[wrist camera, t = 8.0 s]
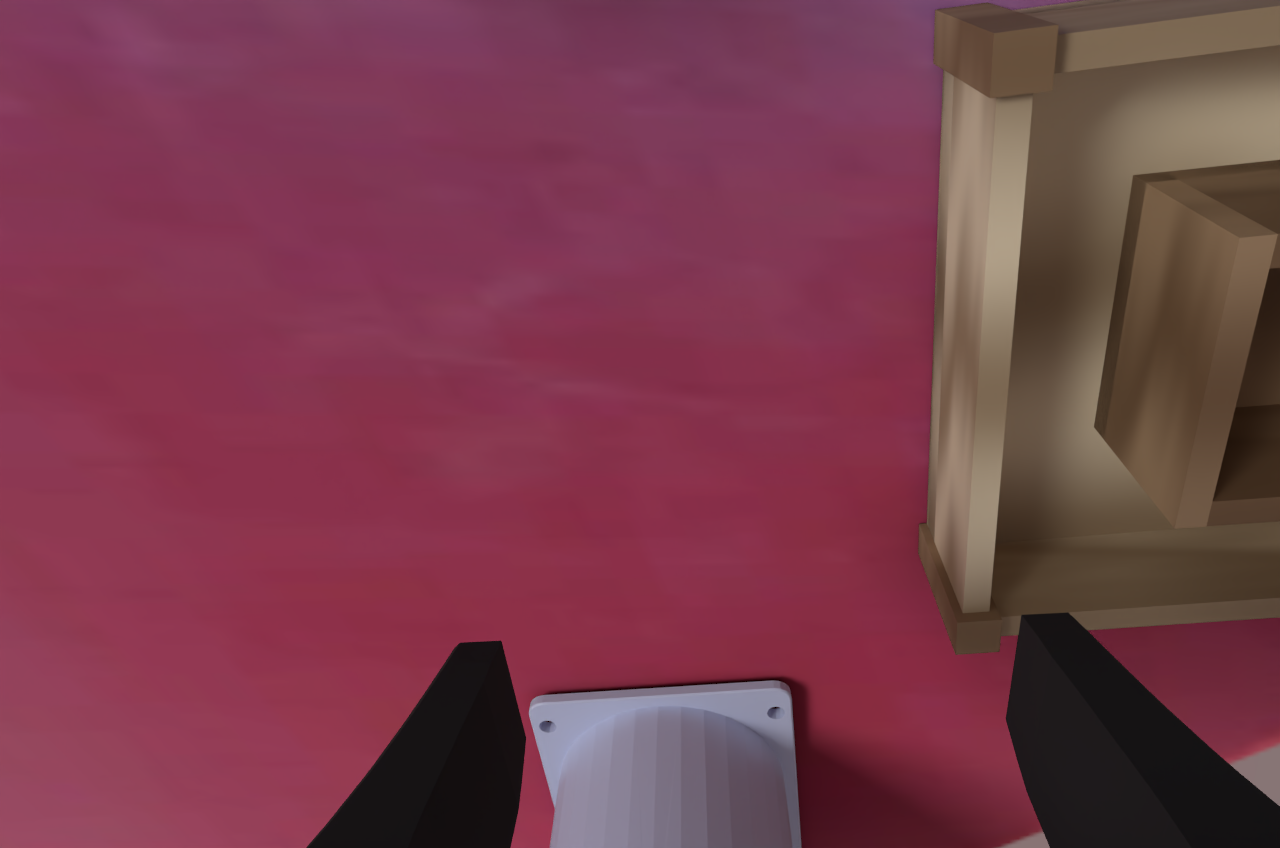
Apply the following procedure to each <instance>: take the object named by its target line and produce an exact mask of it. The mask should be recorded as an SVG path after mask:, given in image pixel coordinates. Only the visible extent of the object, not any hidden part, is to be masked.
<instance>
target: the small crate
mask: <svg viewBox="0 0 1280 848" xmlns="http://www.w3.org/2000/svg"><path fill="white" fill-rule="evenodd" d="M1094 428H1095V429H1096V430H1097V432H1098V433H1099V434H1100V435H1101V437H1102V438H1103V439H1104V441H1105V442H1106V443H1107V444H1108V446H1109V447H1110V448H1111V449H1112V451H1113V452H1114V453H1115V454H1116V456H1117V457H1118V458H1119V459H1120V461H1121V462H1122V463H1123V464H1124V466H1125V467H1126V468H1127V469H1128V471H1129V472H1130V473H1131V474H1132V476H1133V477H1134V478H1135V480H1136V481H1137V482H1138V483H1139V485H1140V486H1141V487H1142V488H1143V490H1144V491H1145V492H1146V493H1147V495H1148V496H1149V497H1150V498H1151V500H1152V501H1153V502H1154V503H1155V505H1156V506H1157V507H1158V508H1159V510H1160V511H1161V512H1162V513H1163V515H1164V516H1165V517H1166V519H1167V520H1168V521H1169V522H1170V524H1171V525H1172V526H1173V527H1174V529H1177V528H1192V527H1206V526H1221V525H1235V524H1250V523H1264V522H1279V521H1280V160H1272V161H1263V162H1253V163H1244V164H1234V165H1225V166H1215V167H1206V168H1196V169H1187V170H1177V171H1168V172H1158V173H1149V174H1139V175H1133V179H1132V186H1131V192H1130V198H1129V205H1128V211H1127V218H1126V224H1125V230H1124V237H1123V243H1122V250H1121V256H1120V262H1119V269H1118V275H1117V282H1116V288H1115V294H1114V301H1113V307H1112V314H1111V320H1110V327H1109V333H1108V339H1107V346H1106V352H1105V359H1104V365H1103V371H1102V378H1101V384H1100V391H1099V397H1098V403H1097V410H1096V416H1095V423H1094Z"/></svg>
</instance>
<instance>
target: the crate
mask: <svg viewBox="0 0 1280 848" xmlns="http://www.w3.org/2000/svg"><path fill="white" fill-rule="evenodd" d="M933 64H935V65H937V66H938V67H940V68H941V69H943V92H942V120H941V148H940V175H939V203H938V231H937V258H936V286H935V314H934V341H933V369H932V396H931V424H930V452H929V479H928V507H927V523H924V524H919V548H918V554H919V556H920V559H921V562H922V565H923V567H924V570H925V573H926V575H927V578H928V581H929V584H930V586H931V589H932V592H933V595H934V597H935V600H936V603H937V605H938V608H939V611H940V614H941V616H942V619H943V622H944V624H945V627H946V630H947V633H948V635H949V638H950V641H951V643H952V646H953V649H954V652H955V654H956V655H957V654H972V653H988V652H999V650H1000V639H1001V636H1009V635H1018V634H1019V628H1020V621H1021V615H1027V614H1047V613H1067V612H1068V613H1069V614H1070V615H1072V616H1073V617H1074V618H1075V619H1076V620H1077V621H1078V622H1079V623H1080V624H1081V625H1082V626H1083V627H1084V628H1085V629H1086V630H1098V629H1113V628H1128V627H1143V626H1158V625H1173V624H1188V623H1202V622H1217V621H1232V620H1247V619H1262V618H1277V617H1280V521H1279V522H1264V523H1250V524H1235V525H1221V526H1206V527H1192V528H1177V529H1174V527H1173V526H1172V525H1171V524H1170V522H1169V521H1168V520H1167V519H1166V517H1165V516H1164V515H1163V513H1162V512H1161V511H1160V510H1159V508H1158V507H1157V506H1156V505H1155V503H1154V502H1153V501H1152V500H1151V498H1150V497H1149V496H1148V495H1147V493H1146V492H1145V491H1144V490H1143V488H1142V487H1141V486H1140V485H1139V483H1138V482H1137V481H1136V480H1135V478H1134V477H1133V476H1132V474H1131V473H1130V472H1129V471H1128V469H1127V468H1126V467H1125V466H1124V464H1123V463H1122V462H1121V461H1120V459H1119V458H1118V457H1117V456H1116V454H1115V453H1114V452H1113V451H1112V449H1111V448H1110V447H1109V446H1108V444H1107V443H1106V442H1105V441H1104V439H1103V438H1102V437H1101V435H1100V434H1099V433H1098V432H1097V430H1096V429H1095V428H1094V423H1095V416H1096V410H1097V403H1098V397H1099V391H1100V384H1101V378H1102V371H1103V365H1104V359H1105V352H1106V346H1107V339H1108V333H1109V327H1110V320H1111V314H1112V307H1113V301H1114V294H1115V288H1116V282H1117V275H1118V269H1119V262H1120V256H1121V250H1122V243H1123V237H1124V230H1125V224H1126V218H1127V211H1128V205H1129V198H1130V192H1131V186H1132V179H1133V175H1139V174H1149V173H1158V172H1168V171H1177V170H1187V169H1196V168H1206V167H1215V166H1225V165H1234V164H1244V163H1253V162H1263V161H1272V160H1280V0H1084V1H1077V2H1070V3H1062V4H1055V5H1047V6H1040V7H1033V8H1025V9H1018V10H1010V9H1006V8H1003V7H1000V6H997V5H994V4H990V3H981V4H974V5H966V6H959V7H952V8H944V9H937V10H935V30H934V63H933Z"/></svg>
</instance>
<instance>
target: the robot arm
mask: <svg viewBox="0 0 1280 848" xmlns="http://www.w3.org/2000/svg"><path fill="white" fill-rule="evenodd" d="M772 707H780V708H777V709H772ZM529 717H530V720H531V724H532V728H533V731H534V735H535V738H536V742H537V746H538V749H539V753H540V757H541V760H542V764H543V767H544V771H545V775H546V778H547V782H548V786H549V789H550V793H551V796H552V800H553V804H554V807H555V814H554V821H553V828H552V835H551V842H550V848H802V847H801V832H800V817H799V801H798V786H797V771H796V756H795V740H794V725H793V710H792V697H791V691H790V688H789V686H788V685H787V684H786V683H784V682H781V681H775V680H771V681H755V682H740V683H724V684H708V685H693V686H677V687H661V688H646V689H630V690H614V691H599V692H583V693H567V694H552V695H541V696H537V697H536V698H534V699H533V700H532V702H531V703H530V708H529ZM546 721H551V722H546ZM1006 721H1007V725H1008V728H1009V732H1010V736H1011V739H1012V743H1013V746H1014V750H1015V753H1016V757H1017V760H1018V764H1019V767H1020V770H1021V774H1022V777H1023V780H1024V784H1025V787H1026V790H1027V793H1028V796H1029V798H1030V800H1031V803H1032V805H1033V808H1034V810H1035V813H1036V815H1037V817H1038V820H1039V822H1040V825H1041V827H1042V829H1043V832H1044V834H1045V837H1046V839H1047V841H1048V844H1049V846H1050V848H1280V806H1278V805H1277V804H1276V803H1275V802H1274V801H1272V800H1271V799H1270V798H1269V797H1267V796H1266V795H1265V794H1264V793H1263V792H1262V791H1260V790H1259V789H1258V788H1257V787H1256V786H1254V785H1253V784H1252V783H1251V782H1250V781H1248V780H1247V779H1246V778H1245V777H1244V776H1242V775H1241V774H1240V773H1239V772H1238V771H1236V770H1235V769H1234V768H1233V767H1232V766H1231V765H1230V764H1228V763H1227V762H1226V761H1225V760H1224V759H1223V758H1222V757H1220V756H1219V755H1218V754H1217V753H1216V752H1215V751H1214V750H1212V749H1211V748H1210V747H1209V746H1208V745H1207V744H1206V743H1205V742H1203V741H1202V740H1201V739H1200V738H1199V737H1198V736H1197V735H1196V734H1195V733H1194V732H1193V731H1191V730H1190V729H1189V728H1188V727H1187V726H1186V725H1185V724H1184V723H1183V722H1182V721H1180V720H1179V719H1178V718H1177V717H1176V716H1175V715H1174V714H1173V713H1172V712H1171V711H1169V710H1168V709H1167V708H1166V707H1165V706H1164V705H1163V704H1162V703H1161V702H1160V701H1159V700H1158V699H1157V698H1156V697H1155V696H1154V695H1152V694H1151V693H1150V692H1149V691H1148V690H1147V689H1146V688H1145V687H1144V686H1143V685H1142V684H1141V683H1140V682H1139V681H1138V680H1137V679H1136V678H1135V677H1134V676H1133V675H1132V674H1131V673H1130V672H1129V671H1128V670H1127V669H1126V668H1125V667H1124V666H1123V665H1122V664H1121V663H1119V662H1118V661H1117V660H1116V659H1115V658H1114V657H1113V656H1112V655H1111V654H1110V653H1109V652H1108V651H1107V650H1106V649H1105V648H1104V647H1103V646H1102V645H1101V644H1100V643H1099V642H1098V641H1097V640H1096V639H1095V638H1094V637H1093V636H1092V635H1091V634H1090V633H1089V632H1088V631H1087V630H1086V629H1085V628H1084V627H1083V626H1082V625H1081V624H1080V623H1079V622H1078V621H1077V620H1076V619H1075V618H1074V617H1073V616H1072V615H1070V614H1069V613H1068V612H1067V613H1047V614H1027V615H1021V621H1020V628H1019V634H1018V641H1017V648H1016V654H1015V661H1014V668H1013V675H1012V681H1011V688H1010V695H1009V701H1008V708H1007V715H1006ZM525 743H526V736H525V732H524V728H523V724H522V720H521V716H520V713H519V709H518V705H517V701H516V697H515V693H514V689H513V685H512V681H511V677H510V673H509V669H508V665H507V661H506V657H505V654H504V650H503V646H502V642H501V641H487V642H467V643H459V644H458V645H457V646H456V647H455V648H454V650H453V651H452V653H451V654H450V656H449V657H448V659H447V660H446V662H445V663H444V665H443V666H442V668H441V669H440V671H439V672H438V674H437V675H436V677H435V679H434V680H433V682H432V683H431V685H430V686H429V688H428V689H427V690H426V692H425V693H424V695H423V696H422V698H421V699H420V701H419V702H418V704H417V705H416V707H415V708H414V709H413V711H412V712H411V714H410V715H409V717H408V718H407V720H406V721H405V722H404V724H403V725H402V727H401V728H400V729H399V731H398V732H397V734H396V735H395V736H394V738H393V739H392V740H391V742H390V743H389V744H388V746H387V747H386V749H385V750H384V751H383V753H382V754H381V755H380V757H379V758H378V760H377V761H376V762H375V764H374V765H373V766H372V768H371V769H370V770H369V772H368V773H367V774H366V776H365V777H364V778H363V779H362V781H361V782H360V783H359V784H358V786H357V787H356V788H355V789H354V791H353V792H352V793H351V794H350V796H349V797H348V798H347V799H346V801H345V802H344V803H343V804H342V806H341V807H340V808H339V809H338V811H337V812H336V813H335V814H334V816H333V817H332V818H331V819H330V821H329V822H328V823H327V824H326V825H325V827H324V828H323V829H322V830H321V831H320V832H319V834H318V835H317V836H316V837H315V838H314V839H313V841H312V842H311V843H310V844H309V845H308V846H307V848H510V847H511V842H512V837H513V833H514V828H515V824H516V819H517V814H518V809H519V801H520V792H521V784H522V775H523V764H524V754H525Z"/></svg>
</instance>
